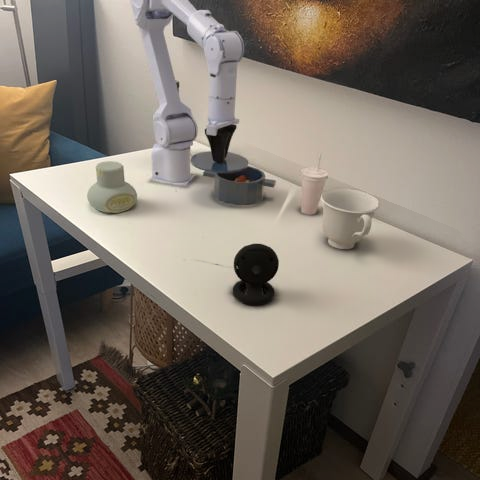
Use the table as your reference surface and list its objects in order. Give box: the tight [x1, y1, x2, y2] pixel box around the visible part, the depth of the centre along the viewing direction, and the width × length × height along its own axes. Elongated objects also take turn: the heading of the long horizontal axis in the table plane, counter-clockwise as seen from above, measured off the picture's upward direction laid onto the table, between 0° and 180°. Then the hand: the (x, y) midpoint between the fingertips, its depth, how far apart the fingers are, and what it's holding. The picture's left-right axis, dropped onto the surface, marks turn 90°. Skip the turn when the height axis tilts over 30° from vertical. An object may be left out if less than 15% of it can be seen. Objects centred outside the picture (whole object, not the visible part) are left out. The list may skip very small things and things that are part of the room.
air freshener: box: [86, 160, 138, 214], centre depth 111 cm, size 11×8×10 cm
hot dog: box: [234, 175, 249, 182], centre depth 123 cm, size 8×3×4 cm, turn 165°
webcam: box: [232, 243, 280, 306], centre depth 86 cm, size 8×8×10 cm
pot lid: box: [190, 150, 249, 173], centre depth 115 cm, size 13×13×4 cm
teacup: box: [320, 188, 381, 250], centre depth 104 cm, size 12×15×10 cm
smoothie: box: [299, 152, 329, 215], centre depth 116 cm, size 6×6×14 cm
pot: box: [202, 165, 277, 206], centre depth 123 cm, size 12×18×6 cm
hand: (219, 159), depth 115 cm, fingers closed on pot lid, 2 cm apart
